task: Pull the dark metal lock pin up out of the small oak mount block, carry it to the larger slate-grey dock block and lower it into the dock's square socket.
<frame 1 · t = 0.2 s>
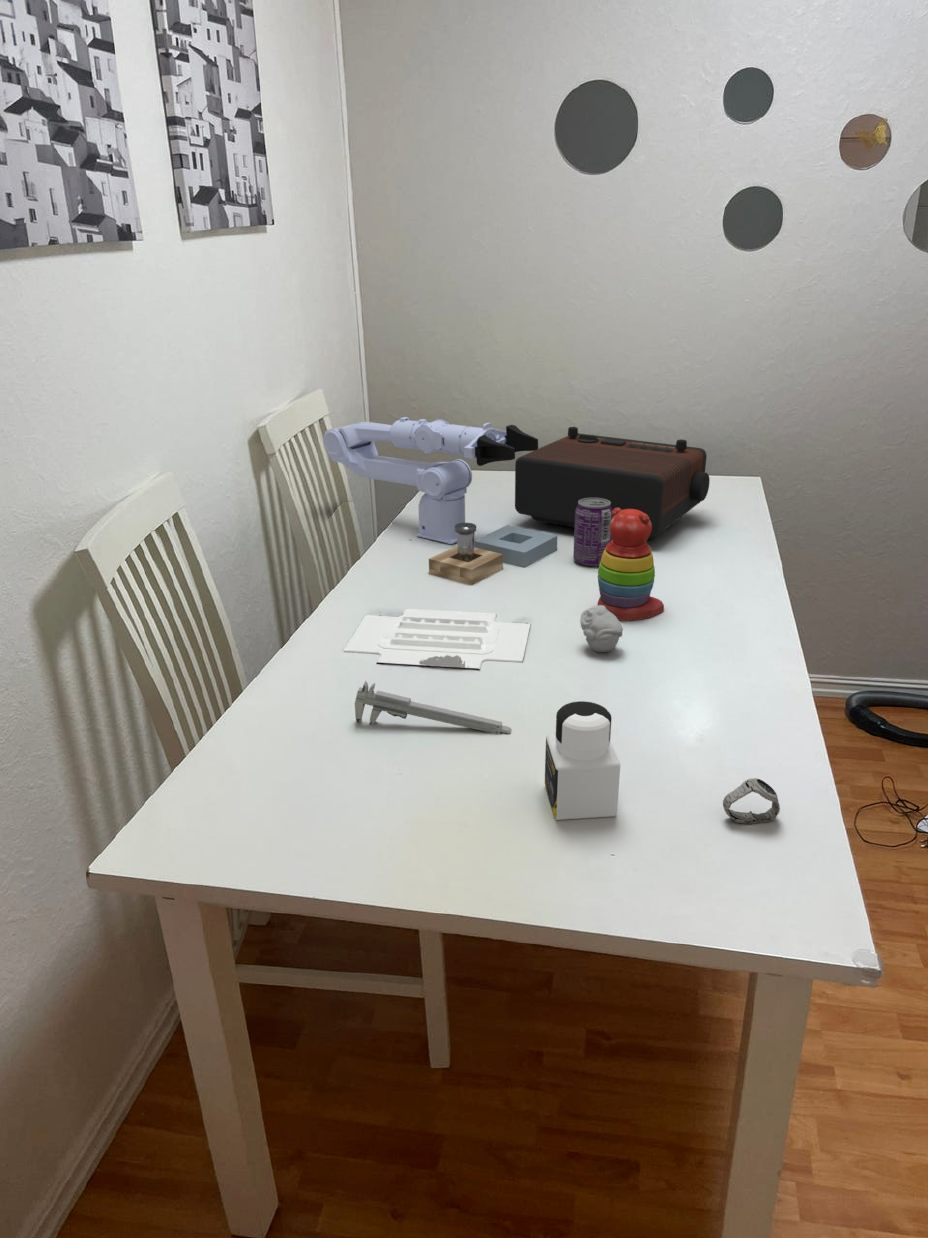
hand: (525, 449, 169), 21 cm above the table, tool horizontal, fingers open, 7 cm apart
pin: (466, 566, 170), point 1 cm above the table, touching mount
wristwatch: (748, 820, 100), on the table
radio receiver: (613, 523, 196), on the table
dock: (515, 552, 179), on the table
frog figurine: (600, 650, 139), on the table
tray: (440, 643, 144), on the table
stacking bear: (625, 610, 153), on the table
caliper: (433, 729, 119), on the table
beverage can: (591, 562, 174), on the table
medicine bottle: (579, 802, 103), on the table
mount: (466, 571, 170), on the table
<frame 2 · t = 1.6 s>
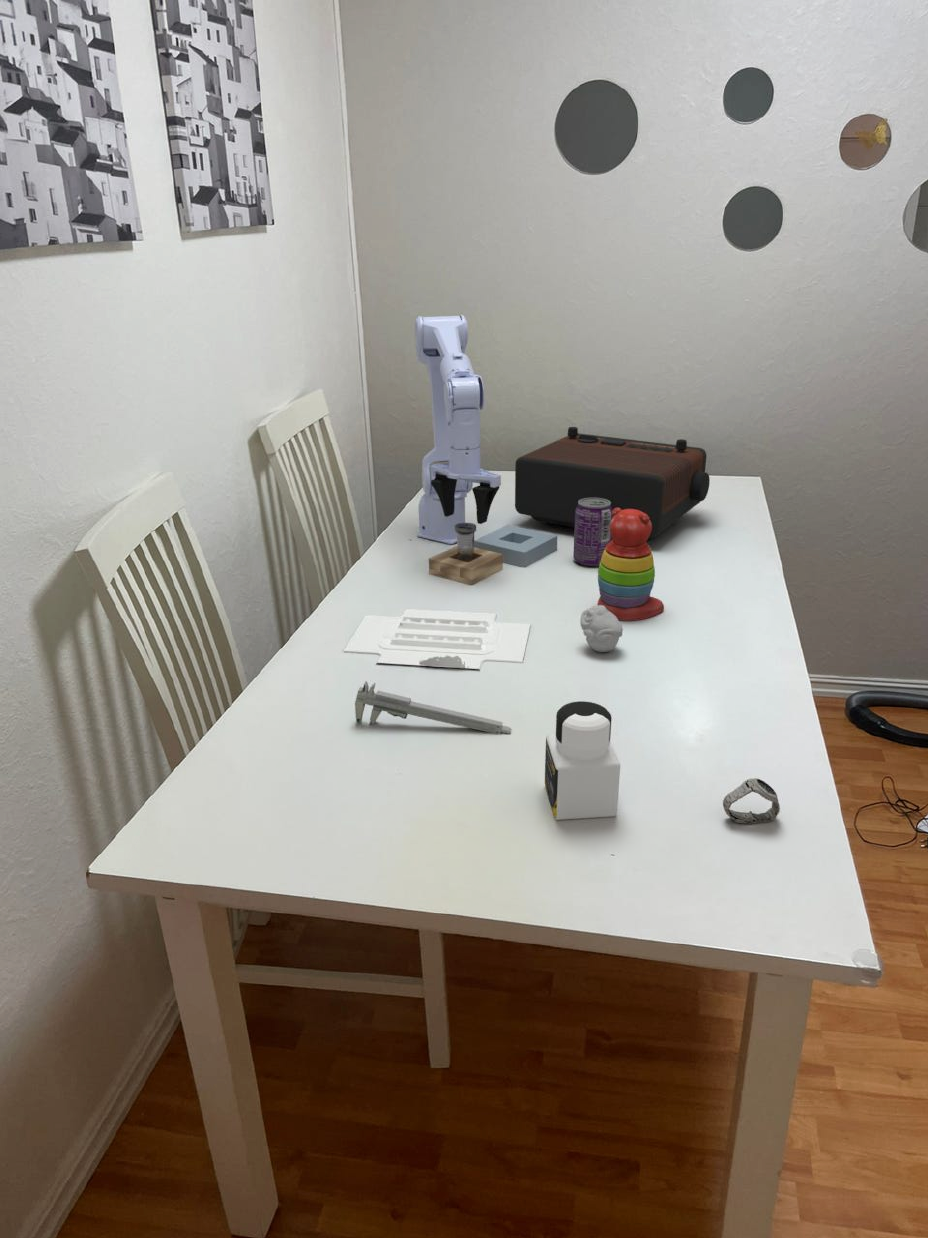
hand: (465, 518, 166), 10 cm above the table, tool pointing down, fingers open, 7 cm apart
nothing on the table moved.
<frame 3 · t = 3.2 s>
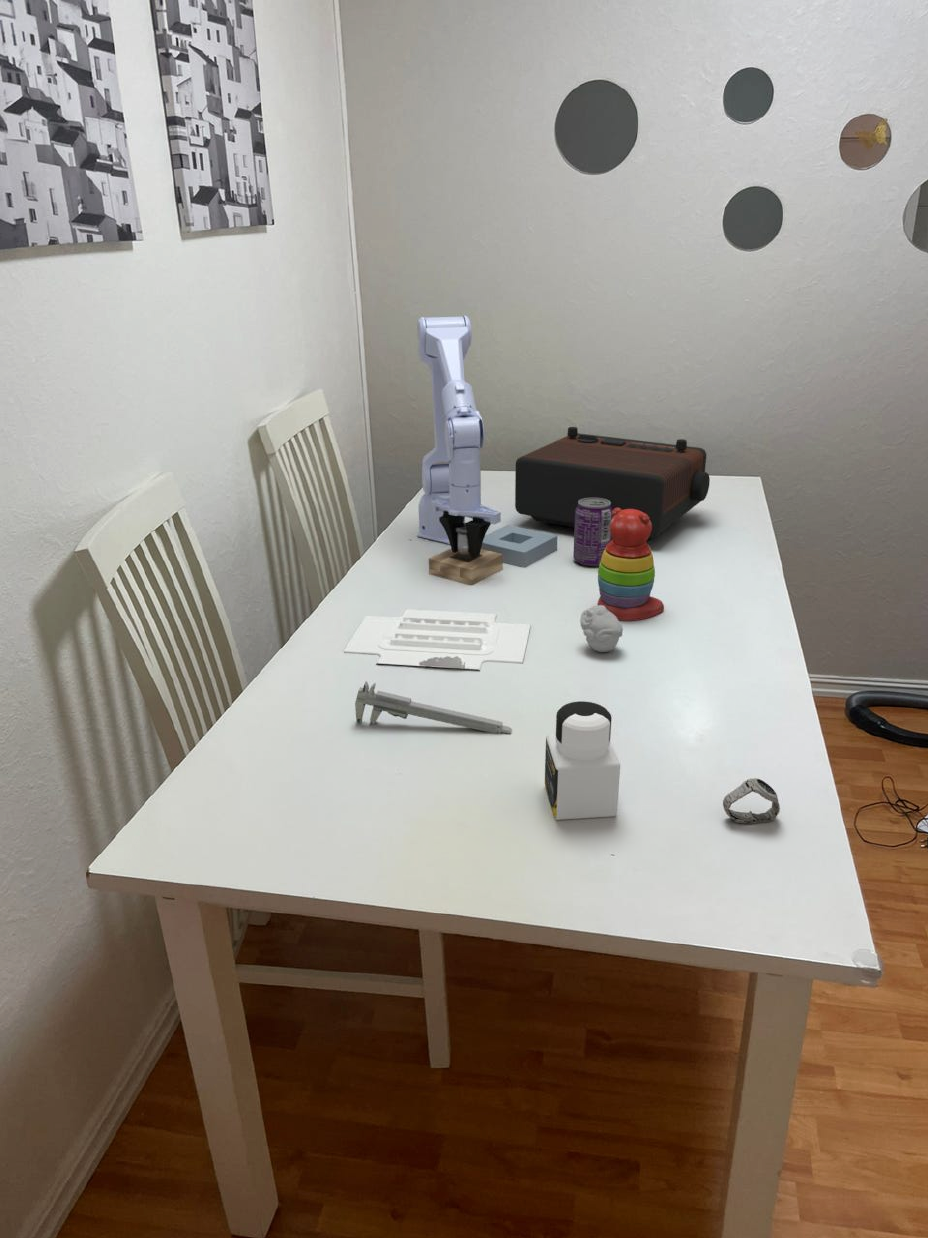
hand: (465, 553, 169), 4 cm above the table, tool pointing down, fingers closed on pin, 4 cm apart
pin: (466, 566, 170), point 1 cm above the table, touching gripper, mount
everything else where it was.
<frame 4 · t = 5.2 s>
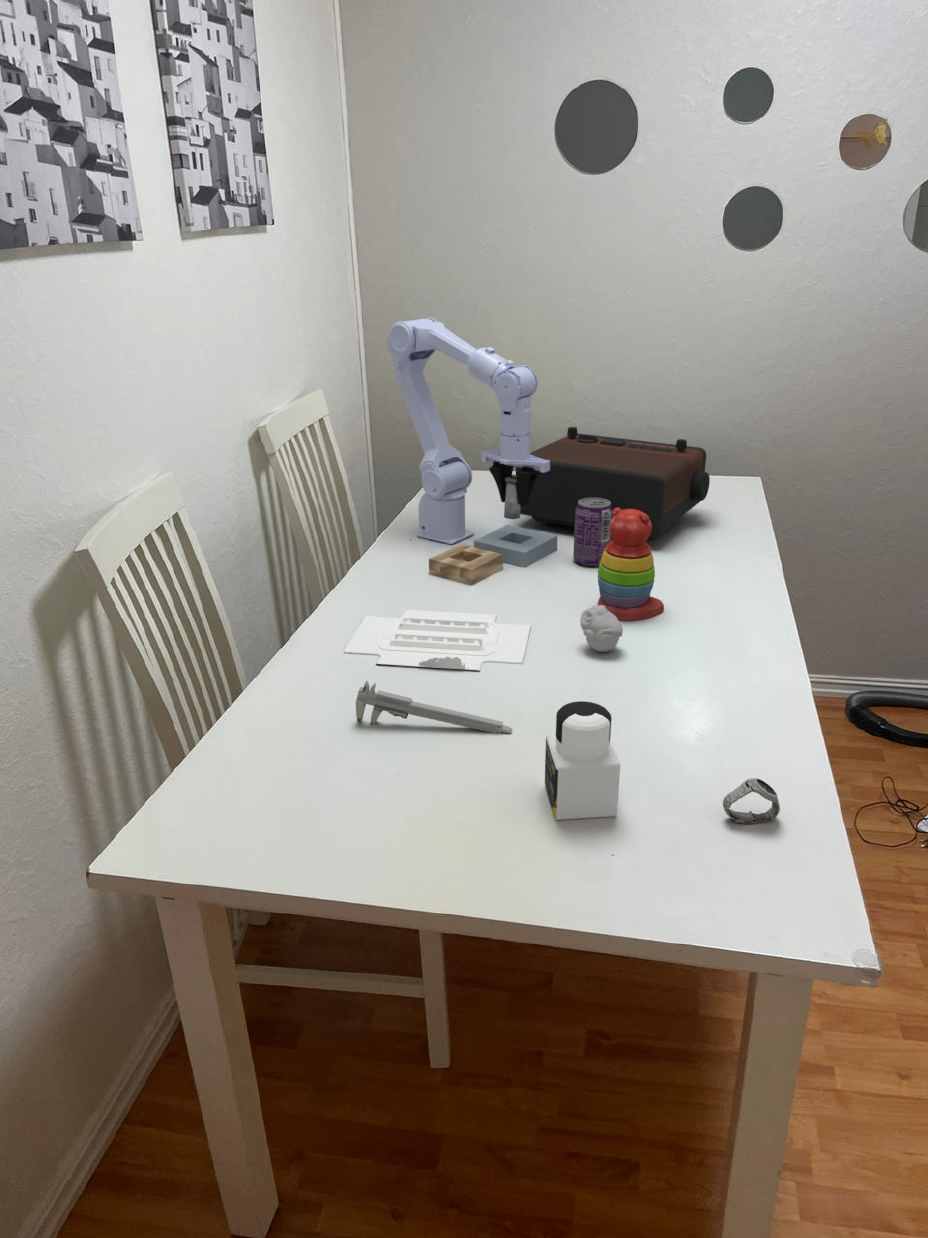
hand: (514, 502, 175), 10 cm above the table, tool pointing down, fingers closed on pin, 4 cm apart
pin: (512, 517, 175), point 8 cm above the table, tilted 5°, touching gripper
everything else where it was.
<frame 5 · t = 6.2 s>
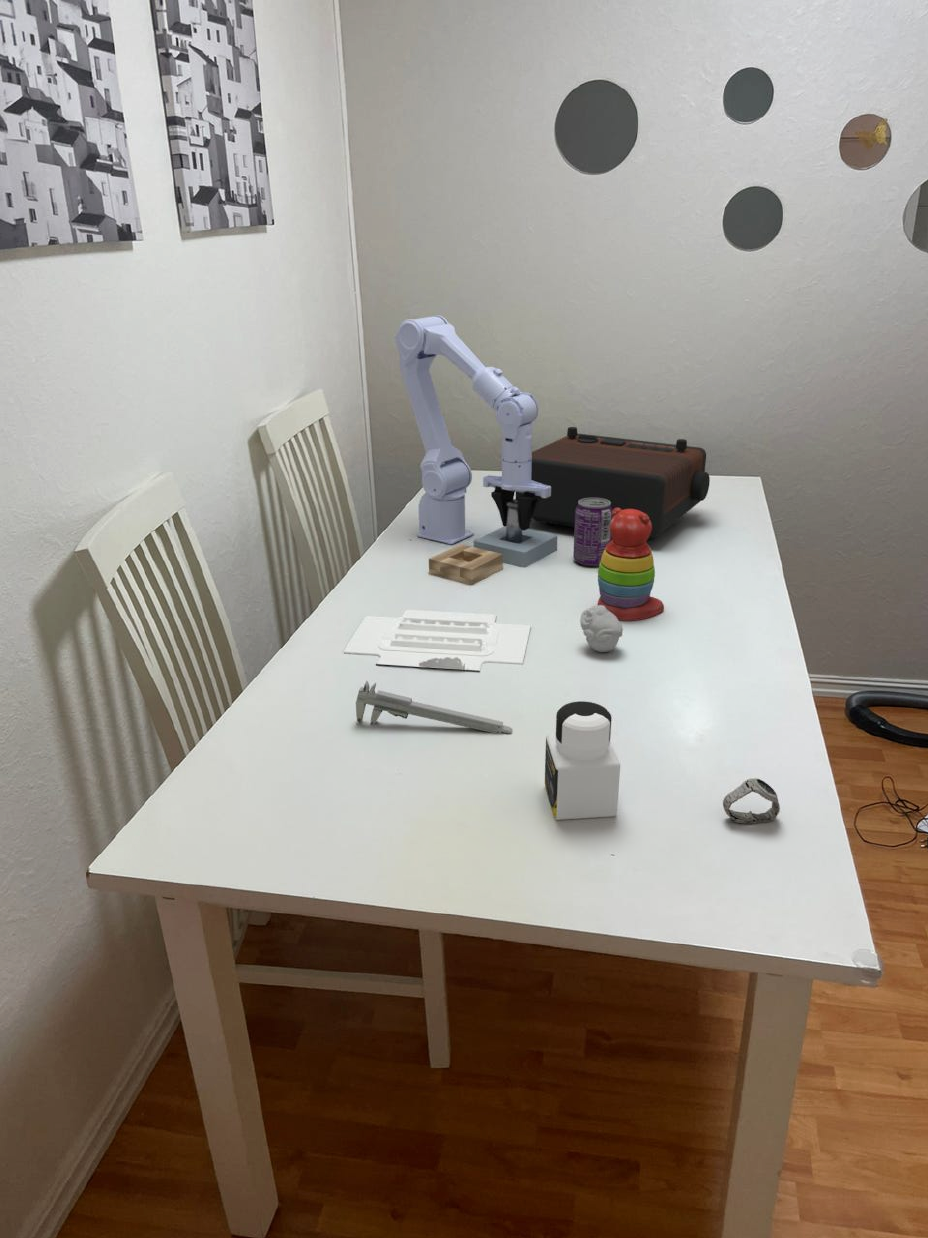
hand: (516, 527, 177), 5 cm above the table, tool pointing down, fingers closed on pin, 4 cm apart
pin: (513, 541, 177), point 3 cm above the table, tilted 5°, touching gripper
everything else where it was.
when the fingers open (5 cm above the table, at t = 7.2 s): pin stays where it is, resting on dock.
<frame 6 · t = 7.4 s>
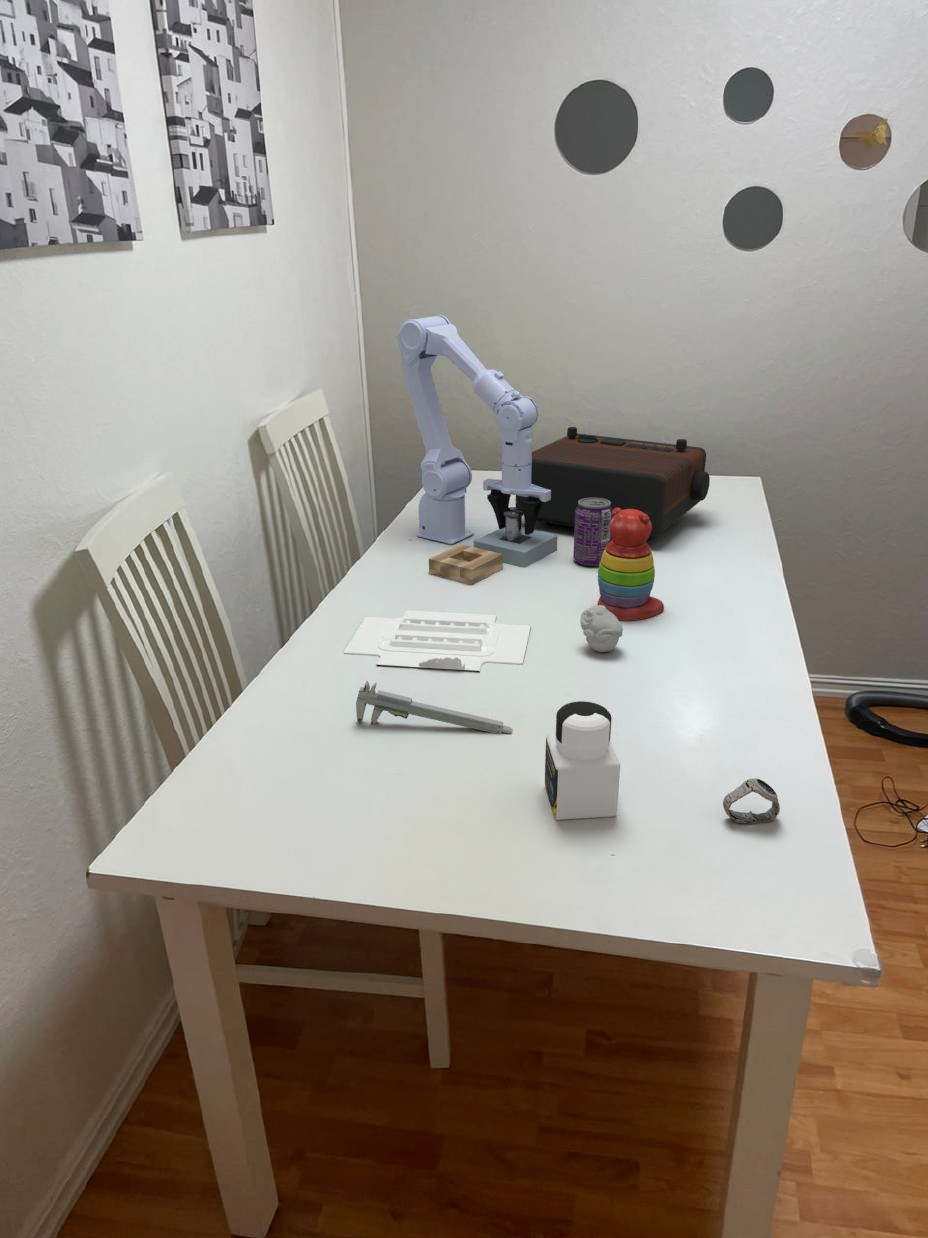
hand: (515, 530, 177), 5 cm above the table, tool pointing down, fingers open, 6 cm apart
pin: (513, 548, 178), point 1 cm above the table, touching dock
everything else where it was.
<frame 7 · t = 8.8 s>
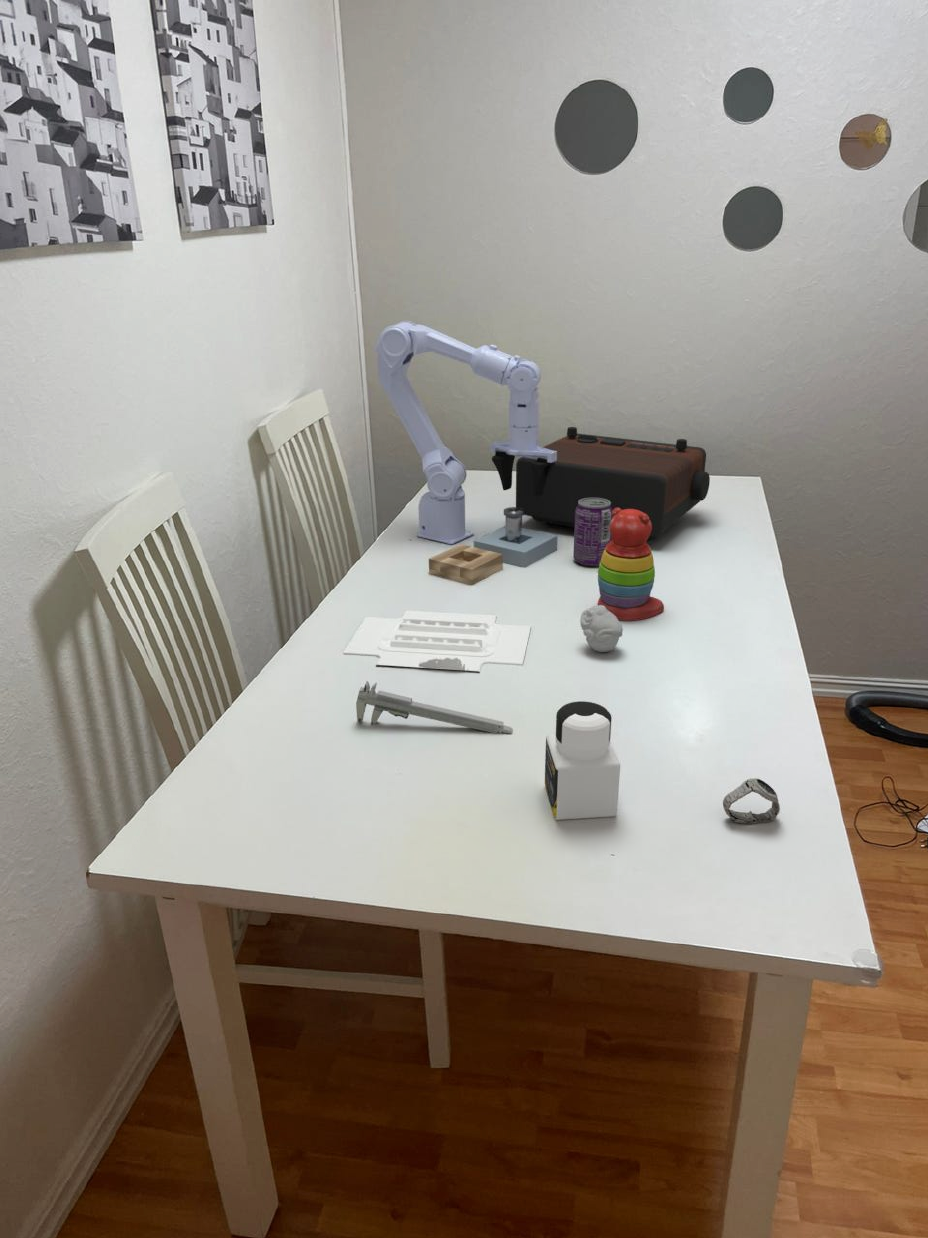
hand: (522, 492, 181), 10 cm above the table, tool pointing down, fingers open, 7 cm apart
nothing on the table moved.
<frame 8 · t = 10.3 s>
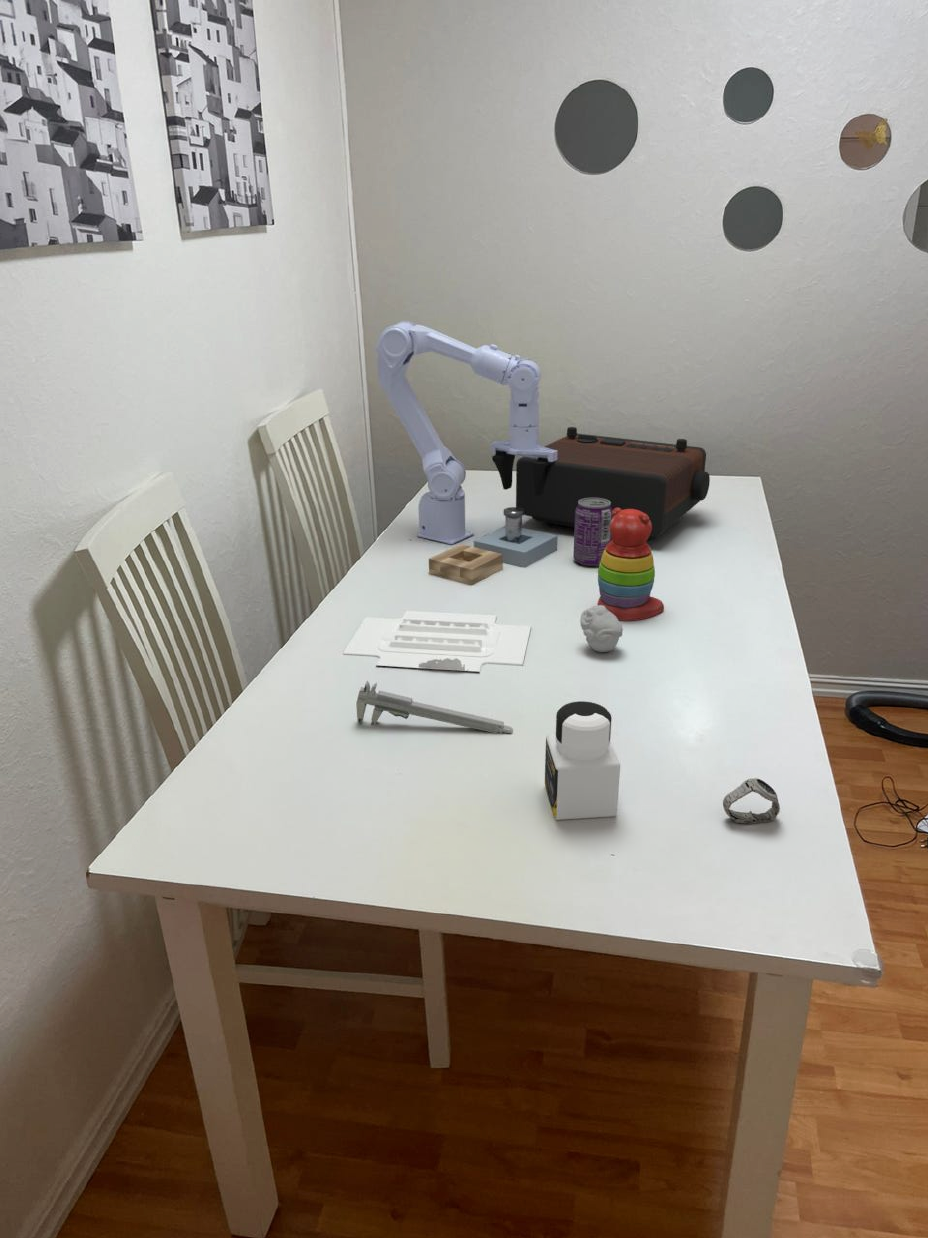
hand: (523, 491, 182), 10 cm above the table, tool pointing down, fingers open, 7 cm apart
nothing on the table moved.
at the end: pin 0.9 cm off-centre on the dock, point 1.0 cm above the dock's base; pin tilted 0°; the gripper is holding nothing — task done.
